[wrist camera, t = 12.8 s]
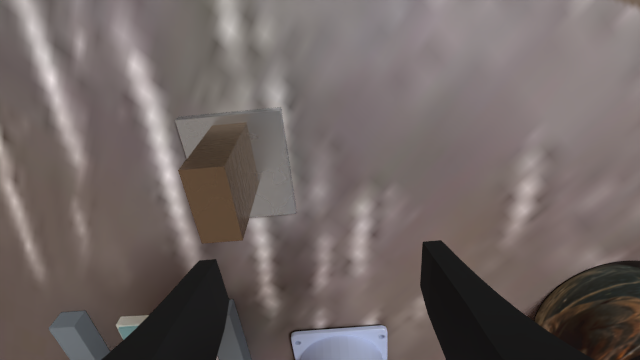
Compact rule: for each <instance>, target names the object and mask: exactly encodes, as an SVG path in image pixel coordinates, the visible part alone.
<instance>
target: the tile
mask: <svg viewBox="0 0 640 360" xmlns="http://www.w3.org/2000/svg"><path fill="white" fill-rule="evenodd" d="M148 316H149V315H142V316H124V317H120V319H119V321H118V322H117V324H116V327H117V329H118V330H119V332H120V334H121V336H122V338H123V340H124V339H125V338H126V337H127V336H129V335H130V334H131V333H132V332H133V331H134V330H135V329H136V328H137V327H138V326H139V325H140V324H141V323H142V322H143V321H144V320H145V319H146V318H147V317H148Z"/></svg>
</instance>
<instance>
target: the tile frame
mask: <svg viewBox="0 0 640 360" xmlns="http://www.w3.org/2000/svg"><path fill="white" fill-rule="evenodd" d="M49 330H50V332H51V333H52V334H53V336H54V337H55V339H56V340H57V341H58V343H59V344H60V346H61V347H62V349H63V350H64V351H65V353H66V354H67V356H68V357H69V358H70V360H101V359H103V358H104V357H105V356H106V355H107V354H108V353H110V351H109V349H108V347H107V346H106V344H105V342H104V341H103V339H102V337H101V336H100V334H99V332H98V331H97V329H96V328H95V326H94V324H93V323H92V321H91V319H90V318H89V316H88V314H87V313H86V311H75V312H62V313H60V315H59V316H58V317H57V318H56V320H55V321H54V322H53V324H52V325H51V326H50V327H49ZM217 356H218V358H219V360H252V359H251V356H250V353H249V349H248V346H247V343H246V339H245V336H244V333H243V330H242V326H241V323H240V320H239V316H238V313H237V310H236V306H235V303H234V300H233V299H231V300H229V306H228V312H227V319H226V324H225V330H224V333H223V337H222V340H221V344H220V347H219V351H218V354H217Z"/></svg>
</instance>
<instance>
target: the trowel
mask: <svg viewBox="0 0 640 360" xmlns="http://www.w3.org/2000/svg"><path fill="white" fill-rule="evenodd" d="M175 122H176V125H177V128H178V132H179V135H180V138H181V142H182V145H183V148H184V151H185V155H186V158H187V160H186V161H185V162H184V164H183V165H182V166H181V167H180V169H179V170H178V171H179V174H180V177H181V180H182V183H183V186H184V190H185V193H186V196H187V199H188V202H189V205H190V208H191V211H192V214H193V217H194V220H195V223H196V226H197V229H198V233H199V236H200V239H201V242H202V243H214V242H227V241H239V240H243V238H244V234H245V231H246V227H247V224H248V220H249V218H250V217H262V216H274V215H286V214H296V203H295V196H294V189H293V183H292V176H291V169H290V162H289V156H288V149H287V142H286V136H285V129H284V122H283V115H282V109H281V107H277V108H266V109H255V110H245V111H234V112H223V113H213V114H202V115H191V116H181V117H178V118H177V119H176V120H175Z"/></svg>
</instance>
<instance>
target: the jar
mask: <svg viewBox="0 0 640 360" xmlns="http://www.w3.org/2000/svg"><path fill="white" fill-rule="evenodd" d="M534 322H536V323H537V324H539V325H540V326H541V327H543V328H544V329H546V330H547V331H549V332H550V333H552V334H553V335H555V336H556V337H558V338H559V339H561V340H563V341H564V342H566V343H568V344H569V345H571V346H572V347H574V348H576V349H577V350H579V351H580V352H582V353H584V354H585V355H587V356H589V357H591V358H592V359H594V360H640V261H623V262H615V263H610V264H606V265H602V266H599V267H596V268H593V269H590V270H588V271H585V272H583V273H581V274H579V275H577V276H575V277H573V278H571V279H570V280H568V281H567V282H565V283H564V284H562V285H561V286H560V287H558V288H557V289H556V290H555V291H553V292H552V293H551V294H550V295H549V296H548V298H547V299H546V300H545V301H544V302H543V304H542V305H541V307H540V308H539V310H538V312H537V314H536V317H535V320H534Z"/></svg>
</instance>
